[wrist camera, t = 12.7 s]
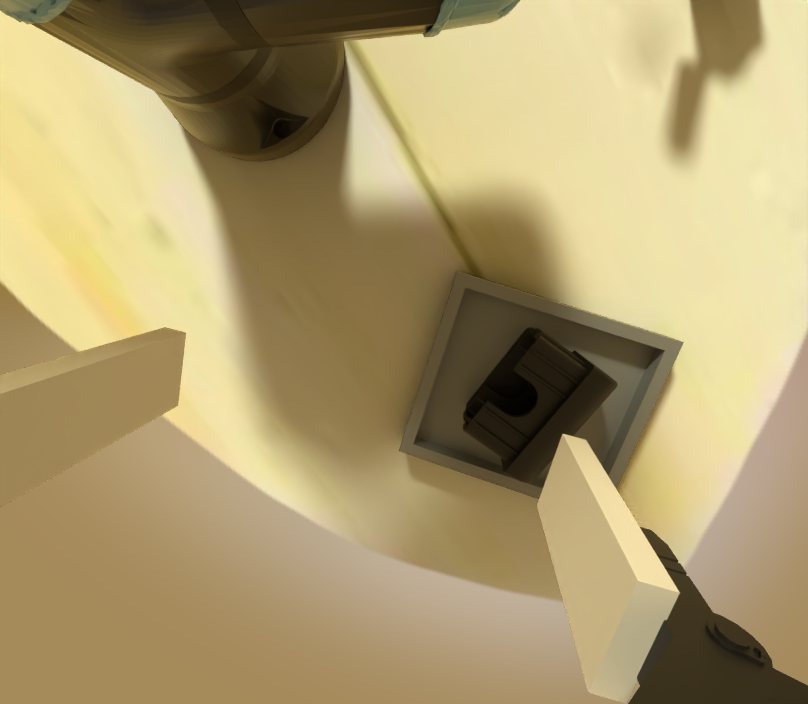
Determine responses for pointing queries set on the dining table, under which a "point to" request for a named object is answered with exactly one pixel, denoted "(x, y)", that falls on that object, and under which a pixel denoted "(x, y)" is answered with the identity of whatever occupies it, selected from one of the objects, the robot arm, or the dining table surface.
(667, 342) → the seat tray
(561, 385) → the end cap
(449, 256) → the dining table surface
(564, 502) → the robot arm
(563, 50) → the dining table surface
